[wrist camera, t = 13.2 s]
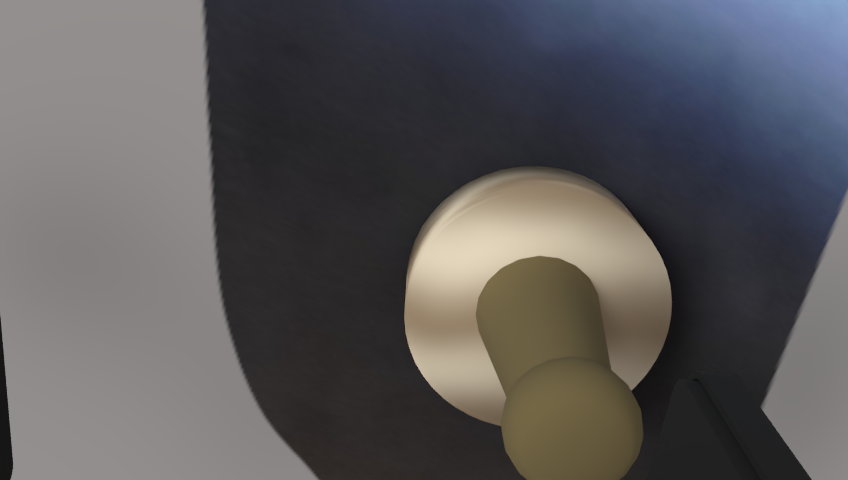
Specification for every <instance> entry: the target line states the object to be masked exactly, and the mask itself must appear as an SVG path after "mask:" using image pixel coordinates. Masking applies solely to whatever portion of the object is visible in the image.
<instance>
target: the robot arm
mask: <svg viewBox="0 0 848 480" xmlns="http://www.w3.org/2000/svg"><path fill="white" fill-rule="evenodd" d="M12 470H13V457H12V446H11V434H10V423H9V411H8V399H7V388H6V376H5V366H4V353H3V342H2V331H1V318H0V480H10V479H11V475H12ZM647 480H811V478H810V477H809V475H808V474H807V472H806V471H805V470H804V469H803V467H802V465H801V464H800V463H799V461H798V460H797V459H796V457H795V456H794V454H793V453H792V452H791V450H790V449H789V447H788V446H787V444H786V443H785V442H784V440H783V439H782V437H781V436H780V435H779V433H778V432H777V431H776V429H775V427H774V426H773V425H772V423H771V422H770V420H769V419H768V418H767V416H766V415H765V413H764V412H763V411H762V409H761V408H760V406H759V405H758V404H757V402H756V401H755V399H754V398H753V397H752V395H751V394H750V392H749V391H748V390H747V388H746V387H745V385H744V384H743V382H742V381H741V380H740V379H739V378H738V377H737V376H736V375H730V374H721V373H712V372H704V371H693V372H692V373H691V374H690V375H689V376H688V378H687V380H684V379H679V380H678V381H677V382H676V383H675V385H674V388H673V391H672V394H671V398H670V401H669V405H668V408H667V412H666V415H665V419H664V422H663V425H662V429H661V432H660V436H659V439H658V443H657V446H656V450H655V453H654V457H653V460H652V463H651V467H650V470H649V474H648V477H647Z"/></svg>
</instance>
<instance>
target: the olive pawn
mask: <svg viewBox="0 0 848 480" xmlns="http://www.w3.org/2000/svg"><path fill="white" fill-rule="evenodd" d="M476 320H477V325H478V330H479V333H480V336H481V338H482V341H483V343H484V345H485V348H486V350H487V352H488V355H489V357H490V360H491V362H492V364H493V367H494V369H495V371H496V374H497V376H498V379H499V381H500V383H501V386H502V388H503V390H504V393H505V395H506V401H505V404H504V409H503V415H502V420H501V428H502V434H503V440H504V445H505V450H506V452H507V454H508V455H509V457H510V459H511V460H512V462H513V464H514V465H515V467H516V468H517V470H518V472H519V473H520V474H521V475H522V476H524V477H525V478H526V479H527V480H620V479H621V478H622V477H624V476H625V475H626V473H627V472H628V470H629V469H630V467H631V466H632V464H633V463H634V462H635V460H636V458H637V457H638V455H639V451H640V447H641V444H642V440H643V425H642V415H641V409H640V407H639V405H638V403H637V401H636V399H635V397H634V395H633V393H632V391H631V390H630V388H629V386H628V384H627V383H625V382H624V381H623V380H622V379H621V378H620V377H619V376H618V375H616V374H615V373H614V372H613V371H612V370H611V365H610V360H609V354H608V348H607V343H606V337H605V331H604V326H603V320H602V314H601V309H600V303H599V297H598V293H597V291H596V289H595V287H594V285H593V284H592V282H591V280H590V278H589V277H588V276H587V275H586V274H585V273H584V272H582V271H581V270H580V269H579V268H578V267H577V266H576V265H573V264H571V263H569V262H567V261H564V260H562V259H560V258H554V257H545V256H535V257H529V258H523V259H519V260H517V261H515V262H513V263H511V264H509V265H507V266H505V267H502V268H501V269H500V270H499V271H498V272H497V273H496V274H494V275H493V276H492V277H491V278H490V279H489V280H488V281H487V283H486V285H485V286H484V288H483V290H482V292H481V294H480V296H479V297H478V303H477V309H476Z"/></svg>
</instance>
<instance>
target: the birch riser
mask: <svg viewBox="0 0 848 480" xmlns="http://www.w3.org/2000/svg"><path fill="white" fill-rule="evenodd" d="M535 256H545V257H554V258H560V259H562V260H564V261H567V262H569V263H571V264H573V265H576V266H577V267H578V268H579V269H580V270H581V271H582V272H584V273H585V274H586V275H587V276H588V277H589V278H590V280H591V282H592V284H593V285H594V287H595V289H596V291H597V293H598V297H599V303H600V309H601V314H602V320H603V326H604V331H605V337H606V343H607V348H608V354H609V360H610V365H611V370H612V371H613V372H614V373H615V374H616V375H618V376H619V377H620V378H621V379H622V380H623V381H624V382H625V383H627V384H628V386H629V388H630V390H632V389H634V388H635V387H636V386H637V385H638V383H639V382H640V381H641V380H642V379H643V378H644V377H645V376H646V374H647V373H648V371H649V370H650V369H651V367H652V366H653V364H654V363H655V361H656V359H657V357H658V355H659V353H660V351H661V350H662V348H663V345H664V342H665V339H666V336H667V334H668V330H669V325H670V320H671V309H672V297H671V286H670V282H669V278H668V274H667V270H666V267H665V265H664V263H663V260H662V258H661V255H660V254H659V252H658V251H657V249H656V247H655V246H654V244H653V242H652V241H651V239H650V238H649V237H648V235H647V234H646V233H645V231H644V230H643V229H642V227H641V226H640V225H639V223H638V222H637V221H636V219H635V218H634V217H633V215H632V214H631V213H630V211H629V210H628V209H627V208H626V207H625V205H624V204H623V203H622V202H621V201H620V200H619V199H618V198H617V197H616V196H615V195H614V194H612V193H611V192H610V191H609V190H607V189H606V188H604V187H603V186H601V185H600V184H599V183H597V182H595V181H593V180H591V179H589V178H587V177H585V176H583V175H580V174H577V173H574V172H571V171H568V170H564V169H559V168H554V167H545V166H523V167H513V168H508V169H503V170H499V171H496V172H493V173H490V174H487V175H484V176H481V177H479V178H477V179H475V180H473V181H471V182H469V183H467V184H466V185H464V186H462V187H461V188H459V189H458V190H456V191H455V192H453V193H452V194H451V195H450V196H449V197H447V198H446V199H445V200H444V201H443V202H442V203H441V204H440V205H439V206H438V207H437V208H436V209H435V210H434V211H433V212H432V213H431V215H430V216H429V218H428V219H427V220H426V222H425V223H424V225H423V226H422V228H421V230H420V232H419V234H418V236H417V238H416V239H415V242H414V245H413V248H412V250H411V253H410V258H409V262H408V267H407V281H406V298H405V315H404V319H405V330H406V336H407V340H408V344H409V348H410V351H411V353H412V356H413V358H414V361H415V363H416V365H417V366H418V368H419V370H420V372H421V373H422V375H423V376H424V378H425V379H426V380H427V381H428V383H429V384H430V385H431V387H432V388H433V389H434V390H435V391H436V392H437V393H438V394H440V395H441V396H442V397H443V398H444V399H445V400H446V401H448V402H449V403H450V404H452V405H453V406H454V407H456V408H458V409H459V410H461V411H463V412H465V413H467V414H468V415H470V416H473V417H475V418H478V419H480V420H482V421H485V422H489V423H492V424H496V425H499V426H501V420H502V415H503V409H504V404H505V401H506V395H505V393H504V390H503V388H502V386H501V383H500V381H499V379H498V376H497V374H496V371H495V369H494V367H493V364H492V362H491V360H490V357H489V355H488V352H487V350H486V348H485V345H484V343H483V341H482V338H481V336H480V333H479V330H478V325H477V320H476V309H477V303H478V297H479V296H480V294H481V292H482V290H483V288H484V286H485V285H486V283H487V281H488V280H489V279H490V278H491V277H492V276H493V275H494V274H496V273H497V272H498V271H499V270H500V269H501V268H502V267H505V266H507V265H509V264H511V263H513V262H515V261H517V260H519V259H523V258H529V257H535Z"/></svg>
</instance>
